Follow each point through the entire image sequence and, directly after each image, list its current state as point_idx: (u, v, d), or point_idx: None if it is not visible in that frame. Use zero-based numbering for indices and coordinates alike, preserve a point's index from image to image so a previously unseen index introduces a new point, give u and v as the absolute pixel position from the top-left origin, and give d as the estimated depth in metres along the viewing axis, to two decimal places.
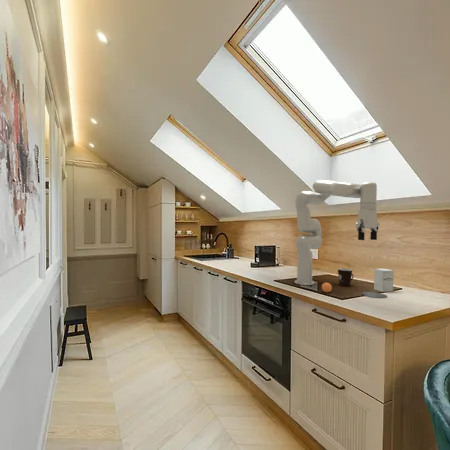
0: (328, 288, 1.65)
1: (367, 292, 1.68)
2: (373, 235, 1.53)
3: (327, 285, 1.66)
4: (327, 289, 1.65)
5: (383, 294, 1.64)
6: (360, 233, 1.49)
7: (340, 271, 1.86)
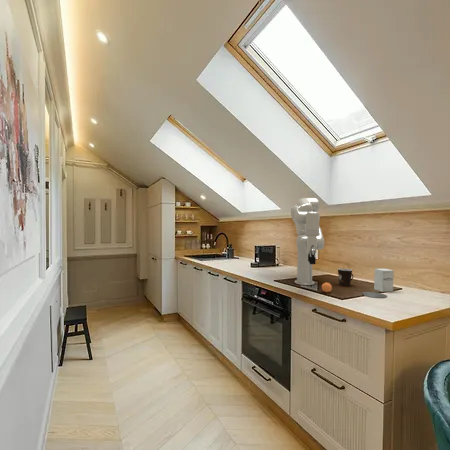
0: (328, 288, 1.65)
1: (367, 292, 1.68)
2: None
3: (327, 285, 1.66)
4: (327, 289, 1.65)
5: (383, 294, 1.64)
6: (313, 258, 1.63)
7: (340, 271, 1.86)
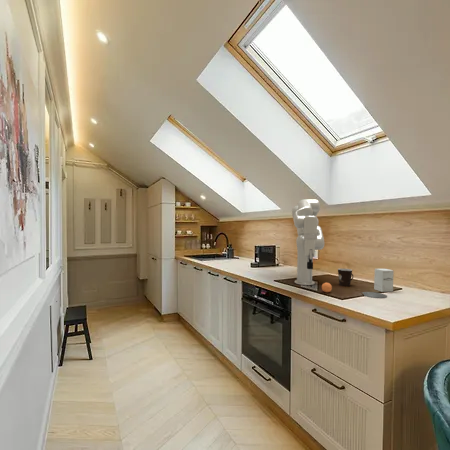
0: (328, 288, 1.65)
1: (367, 292, 1.68)
2: None
3: (327, 285, 1.66)
4: (327, 289, 1.65)
5: (383, 294, 1.64)
6: (310, 263, 1.68)
7: (340, 271, 1.86)
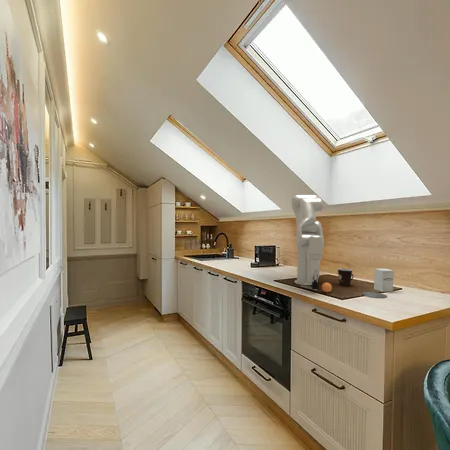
0: (328, 288, 1.65)
1: (367, 292, 1.68)
2: None
3: (327, 285, 1.66)
4: (327, 289, 1.65)
5: (383, 294, 1.64)
6: (315, 283, 1.67)
7: (340, 271, 1.86)
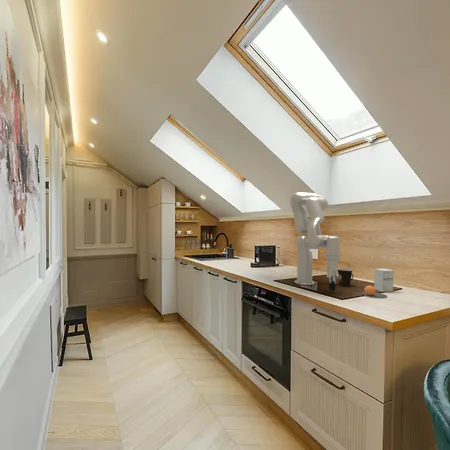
0: (370, 293, 1.59)
1: None
2: None
3: (373, 292, 1.59)
4: (369, 291, 1.59)
5: (383, 294, 1.64)
6: (333, 284, 1.66)
7: (340, 271, 1.86)
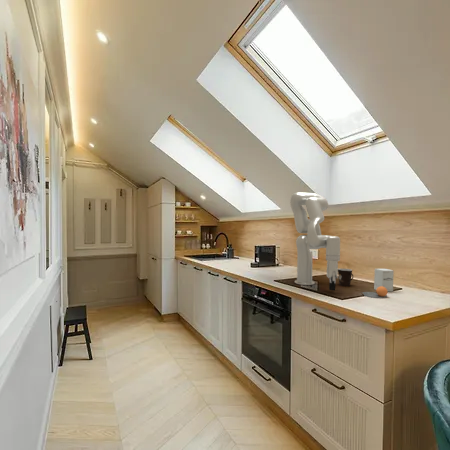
0: (381, 291, 1.58)
1: (367, 292, 1.68)
2: None
3: (380, 294, 1.58)
4: (383, 291, 1.57)
5: None
6: (333, 284, 1.66)
7: (340, 271, 1.86)
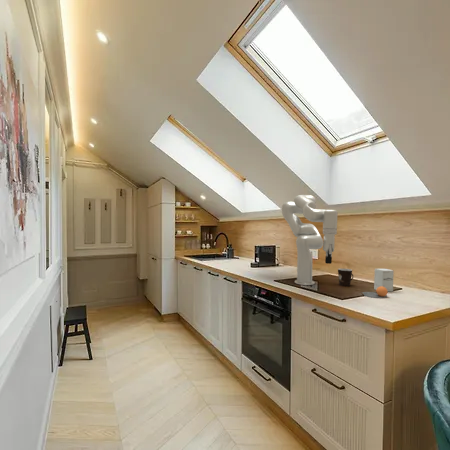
0: (381, 291, 1.58)
1: (367, 292, 1.68)
2: None
3: (380, 294, 1.58)
4: (383, 291, 1.57)
5: None
6: (329, 257, 1.67)
7: (340, 271, 1.86)
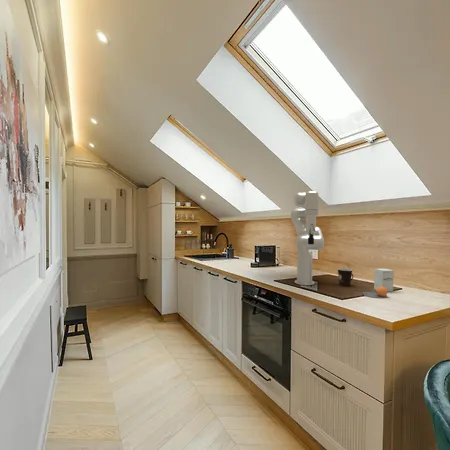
0: (381, 291, 1.58)
1: (367, 292, 1.68)
2: None
3: (380, 294, 1.58)
4: (383, 291, 1.57)
5: None
6: (311, 238, 1.70)
7: (340, 271, 1.86)
